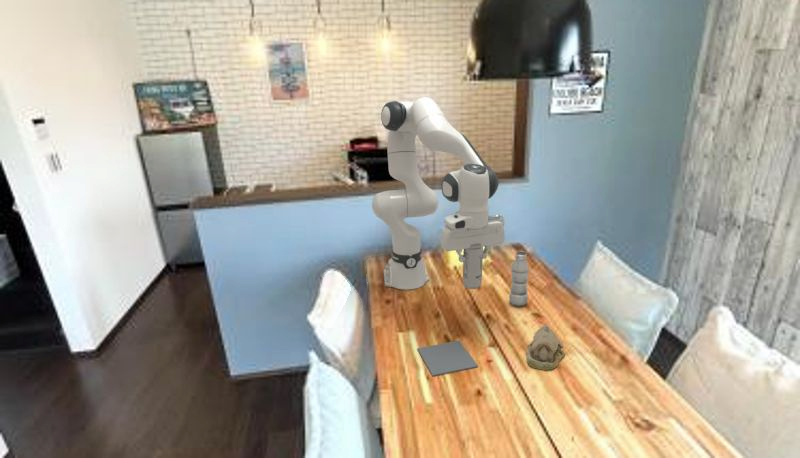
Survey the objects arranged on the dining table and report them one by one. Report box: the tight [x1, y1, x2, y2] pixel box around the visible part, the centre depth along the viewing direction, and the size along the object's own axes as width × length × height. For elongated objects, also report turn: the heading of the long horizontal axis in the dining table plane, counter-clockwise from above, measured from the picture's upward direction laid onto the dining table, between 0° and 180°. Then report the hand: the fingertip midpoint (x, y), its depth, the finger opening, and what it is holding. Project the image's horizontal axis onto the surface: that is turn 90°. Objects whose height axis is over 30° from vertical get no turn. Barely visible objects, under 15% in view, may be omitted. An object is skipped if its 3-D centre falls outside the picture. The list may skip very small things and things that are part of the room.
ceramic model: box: [525, 324, 566, 371], centre depth 136 cm, size 14×11×10 cm
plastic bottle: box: [508, 251, 530, 307], centre depth 166 cm, size 6×7×20 cm
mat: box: [416, 340, 479, 377], centre depth 138 cm, size 14×14×1 cm
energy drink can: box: [462, 244, 484, 290], centre depth 146 cm, size 6×6×15 cm
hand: (472, 259), depth 145 cm, fingers closed on energy drink can, 6 cm apart
